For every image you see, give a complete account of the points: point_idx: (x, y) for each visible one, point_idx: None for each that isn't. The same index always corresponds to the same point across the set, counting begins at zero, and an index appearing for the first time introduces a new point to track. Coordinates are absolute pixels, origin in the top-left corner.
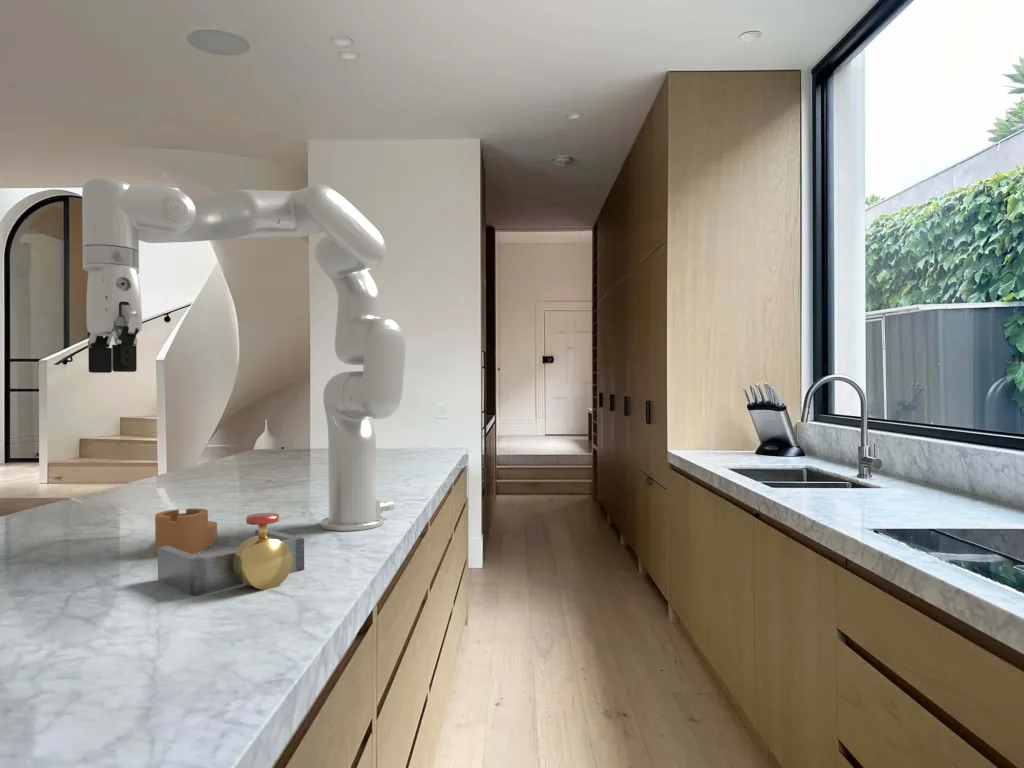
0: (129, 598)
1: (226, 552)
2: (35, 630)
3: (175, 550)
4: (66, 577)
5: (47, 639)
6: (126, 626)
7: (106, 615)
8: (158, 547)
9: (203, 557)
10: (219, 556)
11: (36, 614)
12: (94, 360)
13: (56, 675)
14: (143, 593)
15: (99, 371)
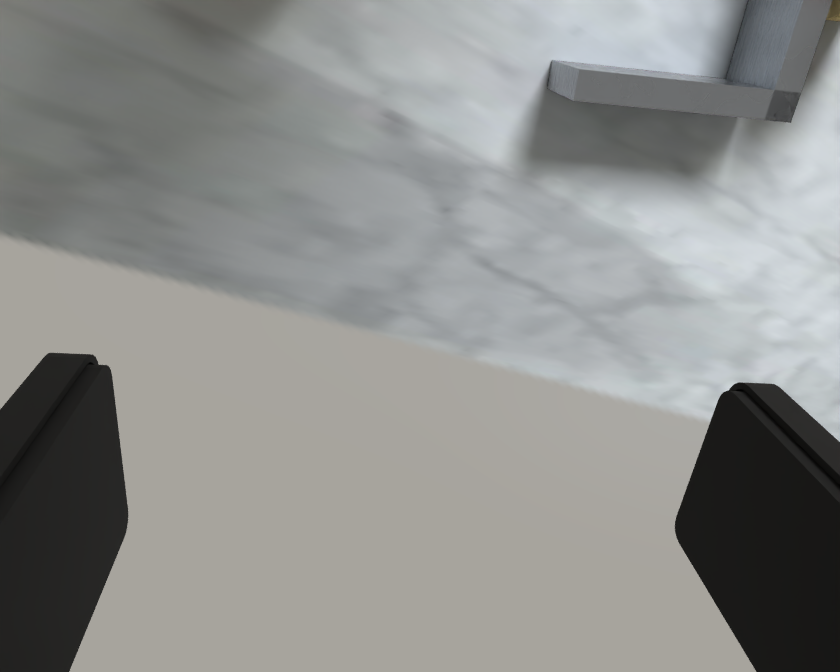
0: (610, 195)
1: (806, 15)
2: (628, 365)
3: (650, 89)
4: (310, 206)
5: (687, 368)
6: (754, 274)
7: (667, 269)
8: (573, 98)
9: (785, 88)
10: (813, 52)
11: (543, 338)
12: (88, 594)
13: (825, 404)
14: (605, 160)
15: (118, 463)
